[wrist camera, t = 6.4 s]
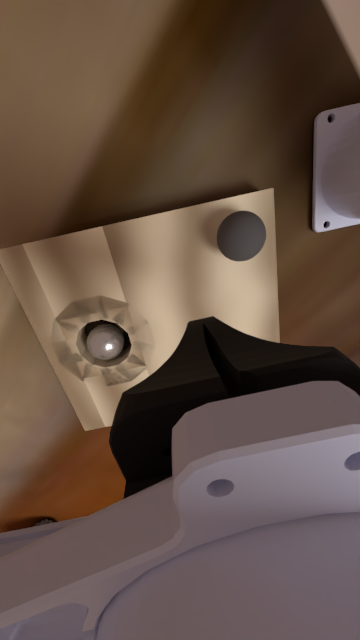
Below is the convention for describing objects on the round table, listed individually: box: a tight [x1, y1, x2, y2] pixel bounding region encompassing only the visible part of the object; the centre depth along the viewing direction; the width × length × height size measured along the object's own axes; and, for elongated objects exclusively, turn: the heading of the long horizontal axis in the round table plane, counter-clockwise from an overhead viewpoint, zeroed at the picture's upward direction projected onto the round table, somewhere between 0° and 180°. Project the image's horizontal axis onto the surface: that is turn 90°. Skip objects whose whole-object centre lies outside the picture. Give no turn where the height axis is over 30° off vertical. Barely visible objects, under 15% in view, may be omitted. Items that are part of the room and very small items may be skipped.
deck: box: [0, 188, 280, 431], centre depth 22 cm, size 20×18×2 cm
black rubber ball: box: [217, 211, 266, 261], centre depth 16 cm, size 3×3×3 cm
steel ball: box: [87, 324, 124, 360], centre depth 21 cm, size 3×3×3 cm
